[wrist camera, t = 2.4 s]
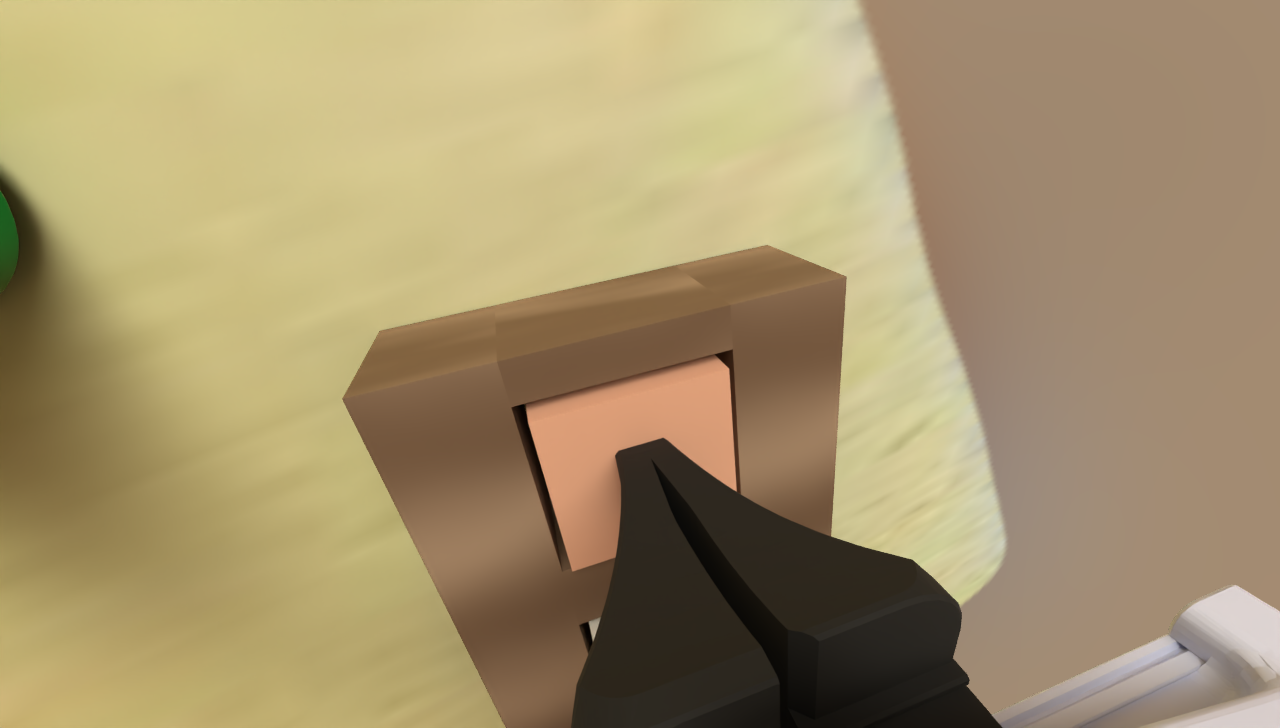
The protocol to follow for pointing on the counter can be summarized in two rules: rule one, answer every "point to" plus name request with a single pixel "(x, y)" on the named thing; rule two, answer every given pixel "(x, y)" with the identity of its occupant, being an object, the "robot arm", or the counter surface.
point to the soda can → (7, 244)
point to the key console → (567, 361)
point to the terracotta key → (626, 443)
